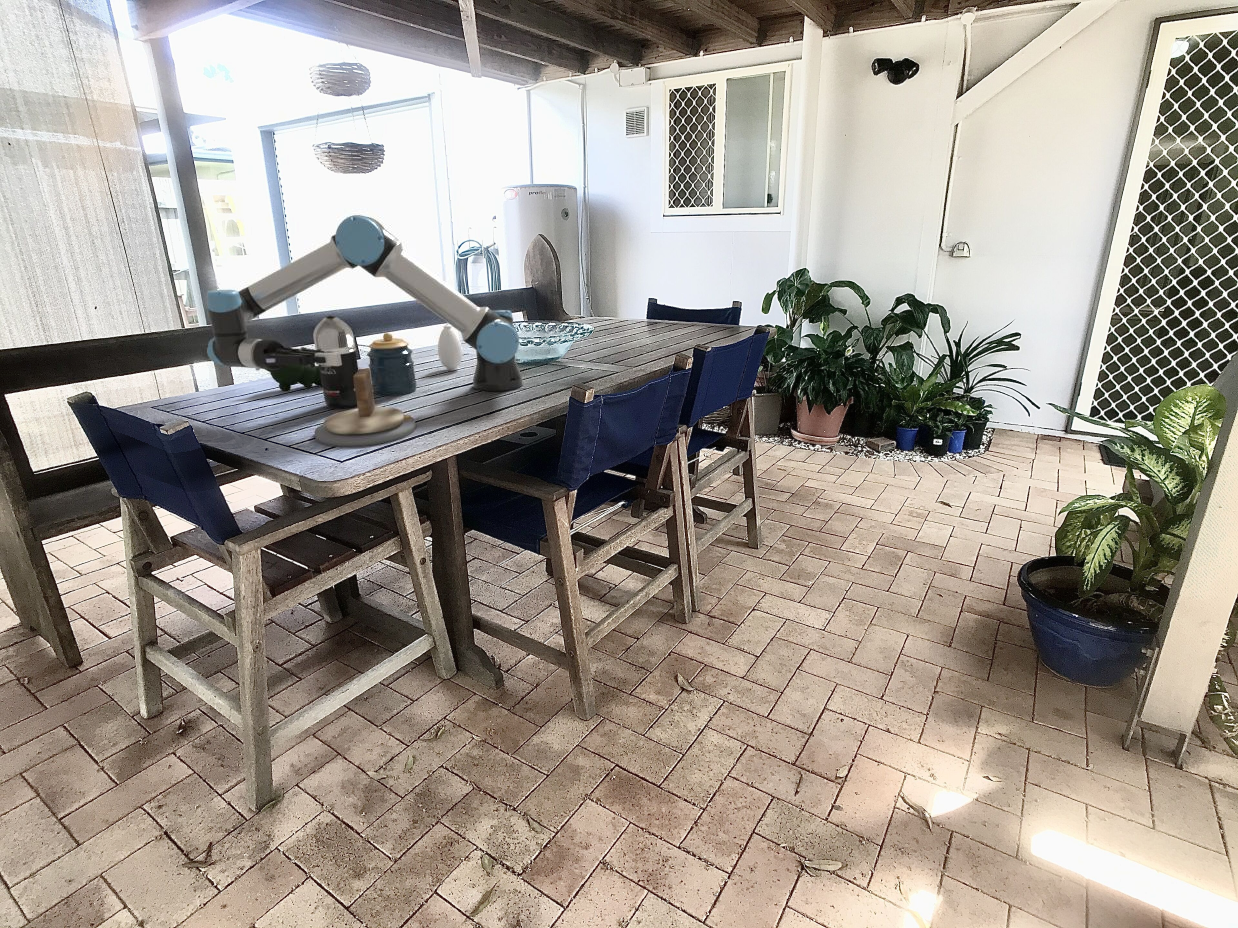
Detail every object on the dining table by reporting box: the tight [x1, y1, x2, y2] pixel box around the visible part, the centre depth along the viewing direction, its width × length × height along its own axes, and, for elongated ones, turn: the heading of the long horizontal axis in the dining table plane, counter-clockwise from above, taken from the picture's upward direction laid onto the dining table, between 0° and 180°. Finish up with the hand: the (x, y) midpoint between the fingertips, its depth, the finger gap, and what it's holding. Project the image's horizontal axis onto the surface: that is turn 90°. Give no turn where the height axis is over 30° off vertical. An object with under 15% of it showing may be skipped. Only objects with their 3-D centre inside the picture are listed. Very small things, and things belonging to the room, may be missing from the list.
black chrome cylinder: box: [312, 314, 359, 410], centre depth 177 cm, size 10×10×25 cm
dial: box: [323, 368, 405, 434], centre depth 155 cm, size 18×18×12 cm
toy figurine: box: [264, 364, 322, 392], centre depth 199 cm, size 9×19×25 cm
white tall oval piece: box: [437, 321, 463, 372], centre depth 221 cm, size 8×8×18 cm
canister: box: [366, 332, 417, 396], centre depth 194 cm, size 13×13×18 cm
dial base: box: [314, 414, 417, 448], centre depth 157 cm, size 23×23×2 cm
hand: (338, 360), depth 159 cm, fingers closed
